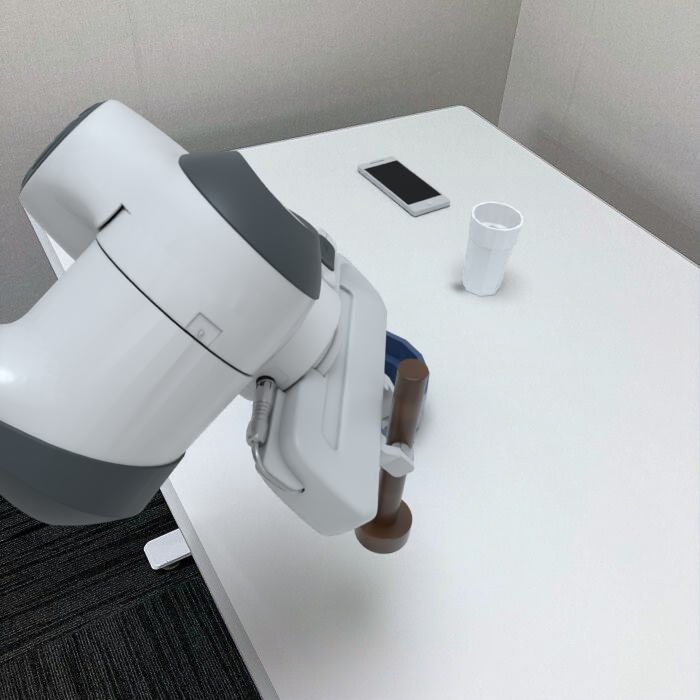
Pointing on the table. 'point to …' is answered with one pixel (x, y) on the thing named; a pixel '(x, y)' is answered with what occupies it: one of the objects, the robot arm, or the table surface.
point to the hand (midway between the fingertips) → (406, 446)
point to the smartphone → (403, 185)
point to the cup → (490, 246)
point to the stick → (392, 511)
